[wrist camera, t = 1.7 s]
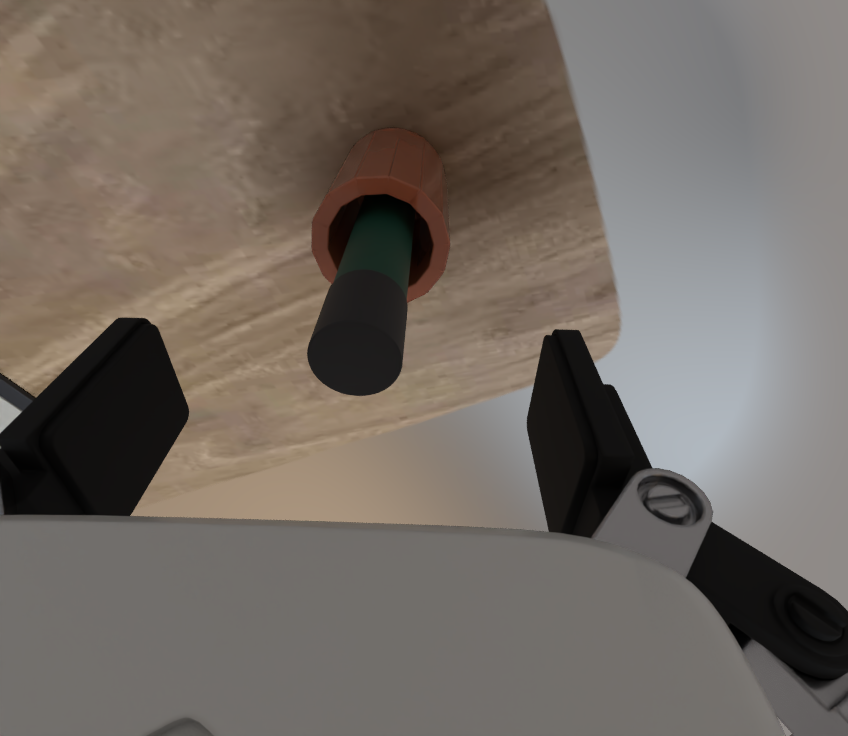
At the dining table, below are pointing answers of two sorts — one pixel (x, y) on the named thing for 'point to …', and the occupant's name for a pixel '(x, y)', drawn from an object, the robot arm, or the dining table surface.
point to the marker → (367, 302)
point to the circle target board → (11, 401)
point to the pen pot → (398, 177)
